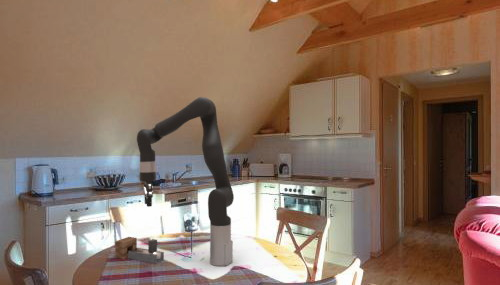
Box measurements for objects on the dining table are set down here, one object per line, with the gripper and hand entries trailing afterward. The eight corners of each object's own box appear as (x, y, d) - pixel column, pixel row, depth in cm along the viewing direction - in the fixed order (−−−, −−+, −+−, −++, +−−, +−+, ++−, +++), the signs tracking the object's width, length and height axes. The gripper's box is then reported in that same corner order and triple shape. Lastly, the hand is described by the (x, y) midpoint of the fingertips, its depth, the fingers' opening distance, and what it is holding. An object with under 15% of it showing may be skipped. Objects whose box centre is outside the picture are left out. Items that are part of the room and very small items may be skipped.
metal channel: (163, 259, 148) (163, 252, 148) (155, 263, 143) (155, 255, 143) (136, 254, 155) (136, 247, 155) (127, 258, 150) (128, 250, 150)
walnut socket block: (136, 253, 157) (136, 237, 157) (123, 259, 149) (123, 242, 149) (128, 252, 159) (128, 236, 159) (115, 257, 151) (115, 241, 151)
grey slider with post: (161, 258, 147) (161, 240, 147) (157, 260, 144) (157, 242, 144) (139, 254, 152) (139, 237, 152) (135, 256, 150) (135, 238, 150)
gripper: (158, 171, 151) (158, 206, 150) (153, 170, 164) (154, 202, 163) (141, 172, 147) (141, 208, 147) (138, 170, 160) (138, 203, 160)
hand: (148, 205), depth 155 cm, fingers open, 8 cm apart
